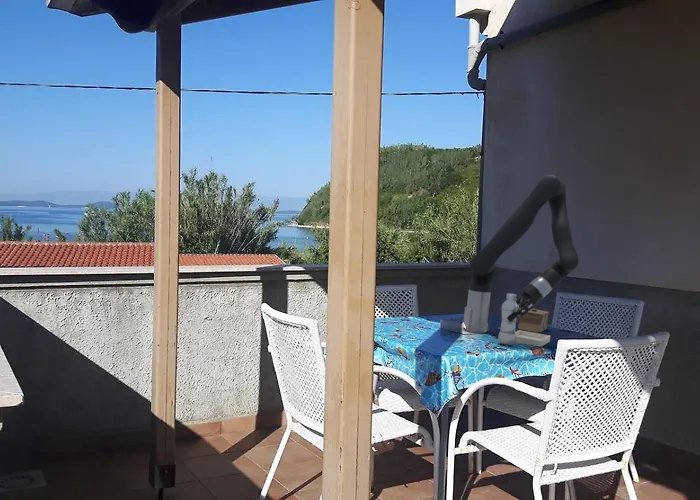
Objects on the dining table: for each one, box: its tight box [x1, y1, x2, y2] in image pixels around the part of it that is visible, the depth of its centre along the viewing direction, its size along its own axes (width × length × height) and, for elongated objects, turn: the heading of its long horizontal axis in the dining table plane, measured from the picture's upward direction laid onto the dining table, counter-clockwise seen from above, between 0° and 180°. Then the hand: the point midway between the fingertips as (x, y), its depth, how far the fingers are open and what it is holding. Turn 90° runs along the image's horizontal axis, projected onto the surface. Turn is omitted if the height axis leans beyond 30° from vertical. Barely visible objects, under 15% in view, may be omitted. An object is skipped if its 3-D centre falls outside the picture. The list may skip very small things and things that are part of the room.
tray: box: [514, 329, 551, 348], centre depth 274 cm, size 16×13×2 cm
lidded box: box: [517, 307, 550, 333], centre depth 304 cm, size 13×11×9 cm
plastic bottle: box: [497, 292, 518, 346], centre depth 262 cm, size 6×7×20 cm
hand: (505, 318), depth 262 cm, fingers closed on plastic bottle, 6 cm apart
